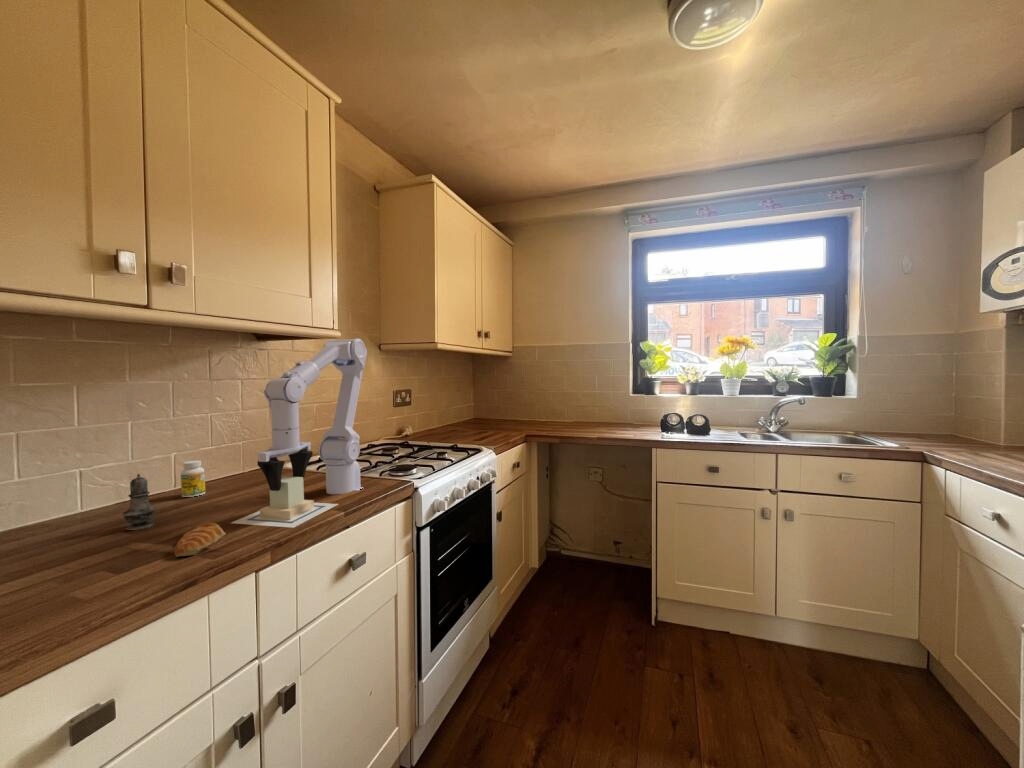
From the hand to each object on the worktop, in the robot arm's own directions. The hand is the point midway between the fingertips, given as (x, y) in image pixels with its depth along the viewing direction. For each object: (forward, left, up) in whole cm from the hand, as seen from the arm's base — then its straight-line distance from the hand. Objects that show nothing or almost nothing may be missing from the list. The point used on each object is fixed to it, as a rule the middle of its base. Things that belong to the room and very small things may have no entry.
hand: (287, 485), depth 98 cm
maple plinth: (0, 0, -7) cm, 7 cm away
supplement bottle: (-11, -40, -8) cm, 42 cm away
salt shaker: (+11, -29, -8) cm, 32 cm away
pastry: (+18, -5, -8) cm, 20 cm away
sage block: (0, 0, -5) cm, 5 cm away
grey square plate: (0, 0, -8) cm, 8 cm away
